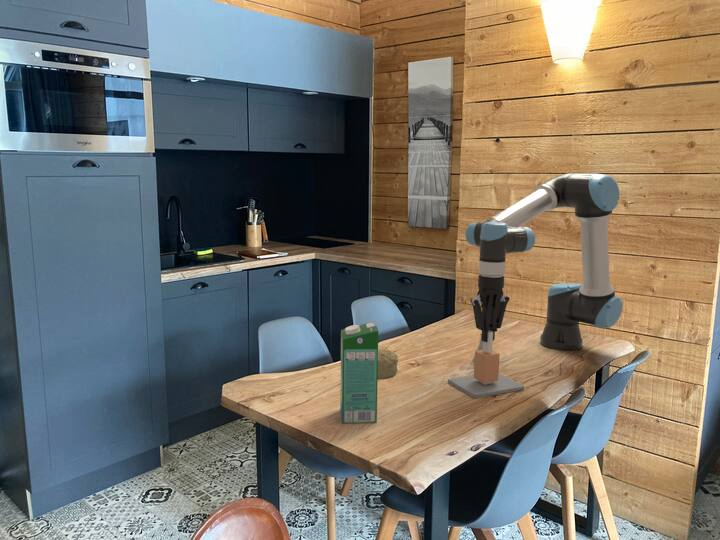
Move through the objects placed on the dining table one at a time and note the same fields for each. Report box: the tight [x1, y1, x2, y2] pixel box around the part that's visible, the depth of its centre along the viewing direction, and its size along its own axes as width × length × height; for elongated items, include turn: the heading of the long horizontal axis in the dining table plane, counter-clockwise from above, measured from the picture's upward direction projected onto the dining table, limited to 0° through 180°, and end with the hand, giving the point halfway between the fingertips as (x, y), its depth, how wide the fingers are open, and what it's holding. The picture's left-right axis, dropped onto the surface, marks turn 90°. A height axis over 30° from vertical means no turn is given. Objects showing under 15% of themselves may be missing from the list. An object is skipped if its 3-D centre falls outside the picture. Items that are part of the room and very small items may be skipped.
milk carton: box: [339, 321, 379, 424], centre depth 160 cm, size 9×9×25 cm
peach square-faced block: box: [473, 350, 501, 383], centre depth 184 cm, size 5×5×9 cm
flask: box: [472, 331, 483, 363], centre depth 207 cm, size 7×7×10 cm
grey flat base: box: [447, 372, 525, 399], centre depth 185 cm, size 18×14×10 cm
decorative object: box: [378, 348, 399, 379], centre depth 195 cm, size 9×10×10 cm
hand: (487, 351), depth 184 cm, fingers closed
